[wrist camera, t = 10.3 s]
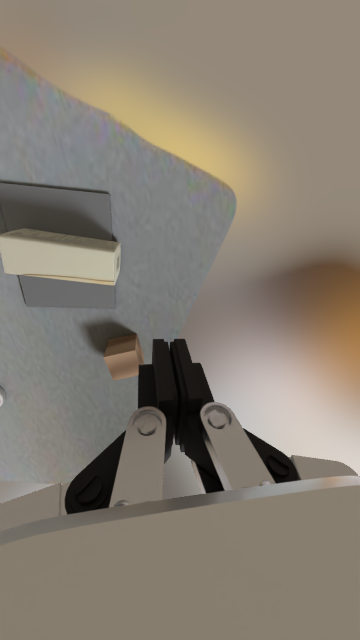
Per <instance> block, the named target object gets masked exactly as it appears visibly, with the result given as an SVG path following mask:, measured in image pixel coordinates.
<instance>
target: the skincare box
mask: <svg viewBox="0 0 360 640" xmlns="http://www.w3.org/2000/svg"><path fill="white" fill-rule="evenodd" d="M0 252H1V257H2V261H3V265H4V270H5V273H8V274H16V275H25V276H34V277H43V278H51V279H60V280H68V281H77V282H86V283H95V284H104V285H115V283H116V280H117V277H118V274H119V272H120V259H121V247H120V242H113V241H107V240H100V239H93V238H87V237H80V236H73V235H67V234H60V233H53V232H46V231H40V230H33V229H26V228H24V229H19V230H14V231H10V232H6V233H2V234H0Z"/></svg>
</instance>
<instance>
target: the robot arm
mask: <svg viewBox="0 0 360 640" xmlns="http://www.w3.org/2000/svg"><path fill="white" fill-rule="evenodd" d="M173 437H174V438H175V444H176V445H180V450H181V452H185V455H186V456H188V457H189V458H190V459H191V463H192V467H193V470H194V473H195V476H196V479H197V482H198V485H199V488H200V491H201V494H200V495H193V496H186V497H179V498H172V499H165V500H162V489H163V472H164V464H165V462H166V461H167V460H168V458H169V457H170V455H171V446H172V444H173ZM0 640H360V476H358V474H357V473H356V472H355V471H353V470H352V469H351V468H350V467H348V466H347V465H345V464H343V463H341V462H337V461H330V460H324V459H316V458H309V457H302V456H295V455H292V456H291V457H287V456H286V455H285V454H283V453H282V452H281V451H279V450H277V449H276V448H274V447H273V446H271V445H269V444H267V443H266V442H265V441H263V440H261V439H260V438H258V437H257V436H255V435H253V434H252V433H250V432H248V431H247V430H245V429H244V428H242V426H241V425H240V423H239V421H238V420H237V418H236V417H235V415H234V413H233V412H232V411H231V409H230V408H228V407H227V406H226V405H224V404H221V403H217V402H214V400H213V396H212V394H211V391H210V388H209V385H208V382H207V379H206V377H205V374H204V371H203V368H202V366H201V364H200V363H192V360H191V357H190V354H189V350H188V348H187V344H186V341H185V339H174V342H170V351H169V346H168V342H164V339H153V352H152V364H146V365H139V374H138V409H137V410H136V411H134V412H133V414H132V415H131V416H130V418H129V421H128V425H127V430H126V431H125V432H123V433H122V434H121V435H120V436H119V437H118V438H117V439H116V440H115V441H114V442H113V443H112V444H110V445H109V446H108V447H107V448H106V449H105V450H104V451H103V452H102V453H101V454H100V455H99V456H98V457H96V458H95V459H94V460H93V461H92V462H91V463H90V464H89V465H88V466H87V467H86V468H85V469H83V470H82V471H81V472H80V473H79V474H78V475H77V476H76V477H75V478H74V480H73V481H72V482H69V483H66V484H63V485H61V484H60V483H58V484H55V485H52V486H50V487H47V488H44V489H41V490H38V491H35V492H32V493H30V494H27V495H24V496H21V497H18V498H16V499H13V500H10V501H7V502H4V503H1V504H0Z"/></svg>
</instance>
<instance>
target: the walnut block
mask: <svg viewBox="0 0 360 640" xmlns="http://www.w3.org/2000/svg"><path fill="white" fill-rule="evenodd" d="M104 360H105V362H106V364H107V366H108V369H109V371H110V373H111V375H112V378H113V380H118V379H123V378H127V377H132V376H136V375H138V374H139V365H144V355H143V352H142V349H141V346H140V342H139V339H138V336H137V334H132V335H128V336H123V337H119V338H114V339H109V340H108V343H107V347H106V350H105V354H104Z"/></svg>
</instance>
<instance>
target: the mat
mask: <svg viewBox="0 0 360 640" xmlns="http://www.w3.org/2000/svg"><path fill="white" fill-rule="evenodd" d="M0 206H1V210H2V214H3V217H4V221H5V225H6V229H7V232H10V231H14V230H19V229H24V228H26V229H33V230H40V231H46V232H53V233H60V234H67V235H73V236H80V237H87V238H93V239H100V240H107V241H113V240H112V221H111V202H110V194H102V193H93V192H83V191H73V190H64V189H54V188H44V187H35V186H25V185H16V184H6V183H0ZM19 279H20V282H21V286H22V290H23V294H24V298H25V302H26V305H27V307H66V308H106V309H116V298H115V285H104V284H95V283H86V282H77V281H68V280H60V279H51V278H43V277H34V276H25V275H19Z"/></svg>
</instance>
